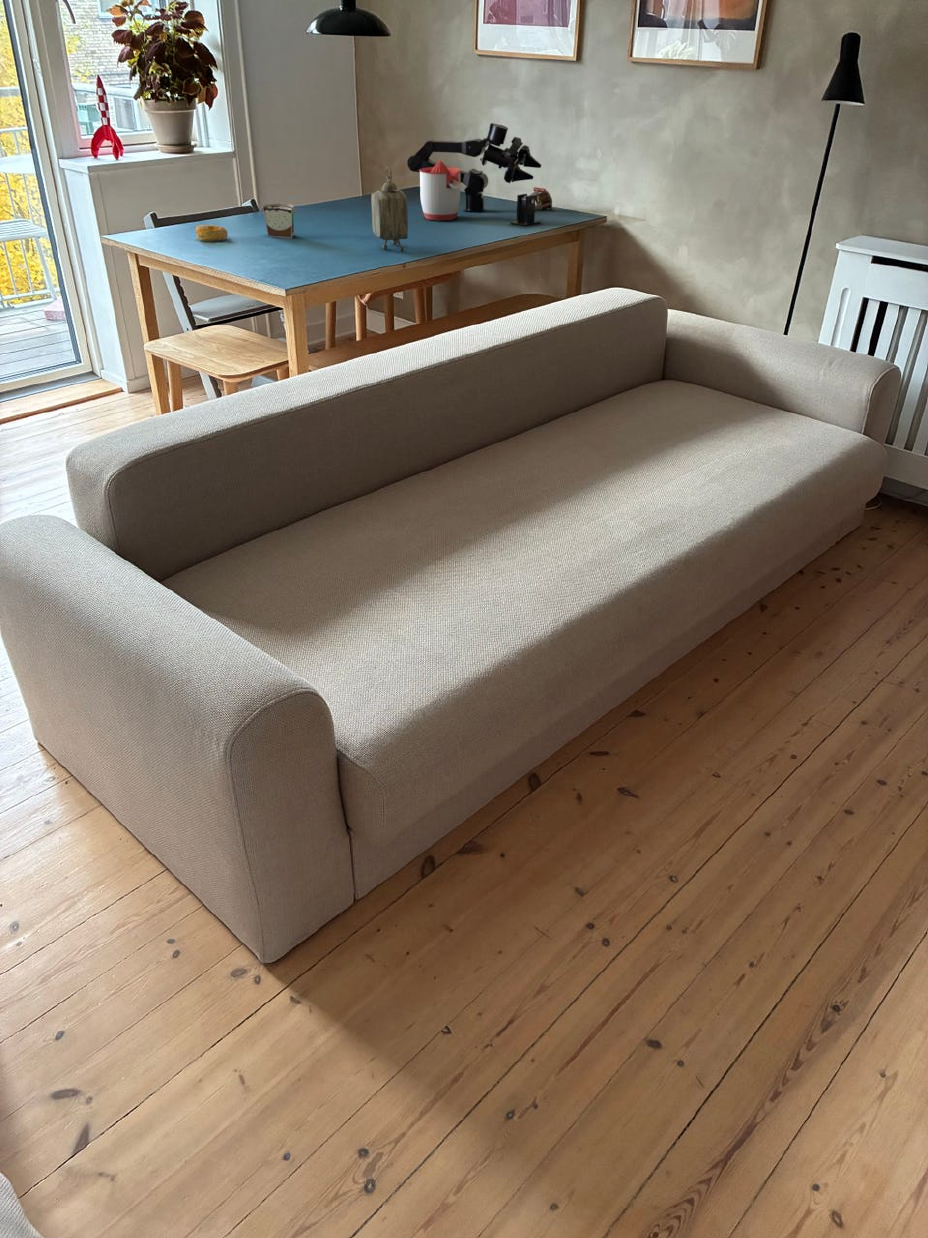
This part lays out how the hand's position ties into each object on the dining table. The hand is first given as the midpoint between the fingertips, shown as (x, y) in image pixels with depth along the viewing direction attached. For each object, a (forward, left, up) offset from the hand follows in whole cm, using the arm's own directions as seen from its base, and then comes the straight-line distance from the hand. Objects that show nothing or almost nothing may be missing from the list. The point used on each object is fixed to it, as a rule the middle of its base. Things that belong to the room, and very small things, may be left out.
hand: (537, 171), depth 360 cm
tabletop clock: (-40, -71, -15) cm, 83 cm away
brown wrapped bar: (+1, -18, -7) cm, 19 cm away
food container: (-82, -58, -15) cm, 102 cm away
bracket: (-1, -22, -15) cm, 26 cm away
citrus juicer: (-34, -16, -15) cm, 41 cm away
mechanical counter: (-1, +9, -15) cm, 18 cm away
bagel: (-104, -69, -15) cm, 126 cm away
